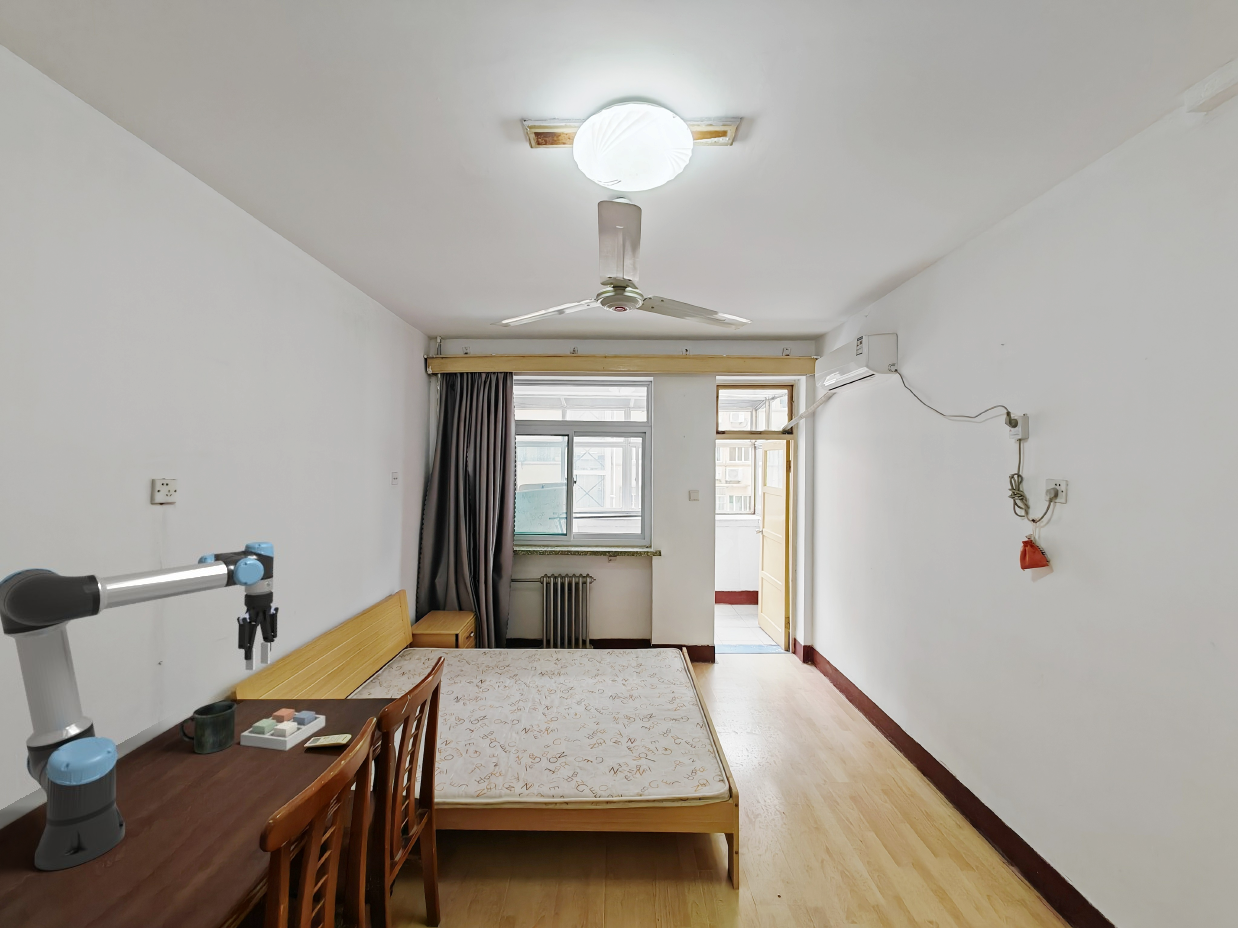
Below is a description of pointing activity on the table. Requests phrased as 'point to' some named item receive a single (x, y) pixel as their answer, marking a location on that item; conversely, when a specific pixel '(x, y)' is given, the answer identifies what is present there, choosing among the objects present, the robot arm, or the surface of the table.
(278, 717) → the key terracotta
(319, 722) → the frame
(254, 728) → the key sage
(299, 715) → the key slate
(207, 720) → the mug
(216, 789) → the table surface
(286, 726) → the key ivory
